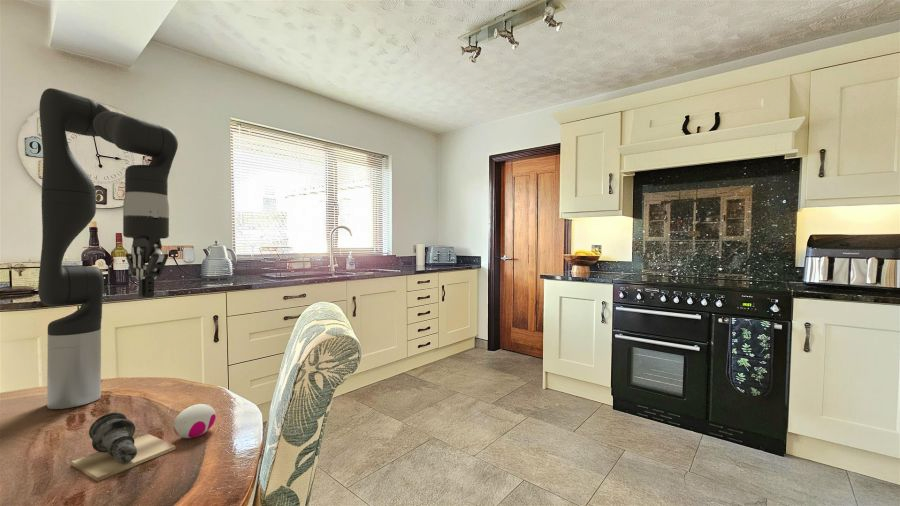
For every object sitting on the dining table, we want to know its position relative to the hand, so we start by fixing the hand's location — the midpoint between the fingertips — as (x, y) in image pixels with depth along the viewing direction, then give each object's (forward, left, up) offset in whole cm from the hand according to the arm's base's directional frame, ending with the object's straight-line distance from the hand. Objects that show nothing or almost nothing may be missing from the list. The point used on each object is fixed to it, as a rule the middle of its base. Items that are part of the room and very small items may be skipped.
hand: (146, 297), depth 78 cm
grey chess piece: (+6, -8, -23) cm, 25 cm away
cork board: (+12, -8, -27) cm, 31 cm away
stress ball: (+15, +2, -27) cm, 31 cm away
